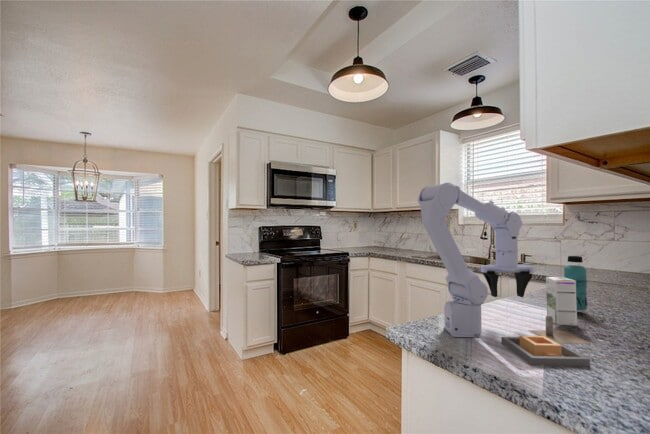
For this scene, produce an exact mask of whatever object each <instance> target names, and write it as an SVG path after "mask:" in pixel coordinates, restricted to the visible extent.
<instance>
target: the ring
mask: <svg viewBox="0 0 650 434" xmlns="http://www.w3.org/2000/svg"><path fill="white" fill-rule="evenodd" d="M519 337H520V345H519V346H520V347H521V348H523V349H524V350H526V351H527V352H528V353H530V354H531V355H533V356H558V357H563V356H562V355H563V353H562V346H561V345H560V344H558V343H556V342H554V341H552V340H550V339H549V338H547V337H545V336H537V335H519Z"/></svg>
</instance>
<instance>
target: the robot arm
mask: <svg viewBox="0 0 650 434" xmlns="http://www.w3.org/2000/svg"><path fill="white" fill-rule="evenodd" d="M417 202H418V204H419V206H420V214H421V223H422V226H423V227H424V229H425V231H426V233H427V234H428V237H429V239H430V240H431V243H432V244H433V246H434V248H435V250H436V252H437V254H438V256H439V258H440V260H441V262H442V264H443V265H444V269H445V270H446V272H447V275H446V277H445V280H446V283H447V290H448V292H449V294H450V295H451V301H445V302H444V308H443V312H444V313H443V314H444V316H443V319H444V320H443V321H444V325H443V328H444V329H445V330H446V331H447V332H448V334H450V335H451V336H452V337H453V338H454V337H455V338H479V336H478V335H479V334H482V330H483V329H482V305H484V303H485V301H486V300H487V298H488V293H489V291H490V295H491V297H494V298H497V297H498V282H499V278H500V276H499V274H497V273H514V276H515V277H514V278H515V283H516V296H517V297H519V298H524V296H525V292H526V289H527V287H528V284H529V283H530V281H531V280H532V279H533V273H535V272H534V270H535V269H534V266H533V265H524V264H523V265H521V264H519V258H518V257H519V256H518V255H519V254H518V252H519V251H518V250H519V249H518V237H519V235H520V230H521V228H522V226H523V220H522V218H521V215H519V214H518V213H517V212H515V211H508V210H506V208H505V207H500V206H498V205H496V204H495V202H494V201H493V200H485V201H480V200H478V198H477V199H476V198H475V197H473V196H472V195H470V194H468V193H466V192H465V191H463V190H462V189H461V188H460V186H458V185H456V184H453V183H452V182H444V183H441V184H436V185H429V186H425V187H423V188H422V189H421V191H420V192H419V195H418V197H417ZM455 205H456V206H459V207H461V208H463V209H466V210H468V211H471V212H473V213H474V216H475V217H476V218H477V219H479V220H480V221H482V222H485V223H487V224H489V225H490V227H491V228H492V230H494V231H495V232H494V233H495V235H494V236H495V242H494V243H495V264H486V265H485V264H483V265H480V272H481V273H482V275H483V277H484V278H485V280H486V282H487V283H485V282H483V281H482V280H481V279H480V277H479V275H477V274H476V273H475V272H474V271H472V270H471V269H470V268H469V267H468V264H467V262H466V261H465V259H464V256H463V255H462V253H461V251H460V249H459V247H458V245H457V244H456V243H457V242H456V241H455V240H454V239H455V238H454V237H453V236H452V233H451V231H450V230H449V227H448V225H447V224H446V222H445V219H446V217H447V216H448V215H449V213H450V211H451V210H452V209H453V207H454V206H455ZM487 285H488V286H487ZM488 289H489V290H488Z"/></svg>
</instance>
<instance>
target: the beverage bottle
mask: <svg viewBox="0 0 650 434" xmlns="http://www.w3.org/2000/svg"><path fill="white" fill-rule="evenodd" d="M567 262H568V263H569V262H570V263H579V264H580V263H583V257H582V256H580V255H568V256H567ZM587 271H588V270H587V268H586V267H584V266H583V265H577V264H567V265H565V266H564V267H563V274H564V275H563V277H564V278H568V279H571V280H575V281H576V304H577V311H587V309H588V293H587V292H588V291H587V287H588V285H587V282H588V281H587V280H588V279H587Z"/></svg>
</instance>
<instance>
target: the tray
mask: <svg viewBox="0 0 650 434" xmlns="http://www.w3.org/2000/svg"><path fill="white" fill-rule="evenodd" d="M549 339H550V340H552V341H554V342H556V343H558V344H560V345H561V346H562V355H565V356H562V357H558V356H533V355H531V354H530V353H528V352H527V351H526V350H524V349H523V348H521V347H520V336H501V344H502V345H504V346H505V347H506V348H508V349H509V350H511V351H512V352H513V353H515V355H518V357H520V358H522V359H523V360H524V361H526V362H527V363H528V364H530V365H531V366H549V367H550V366H552V367H553V366H554V367H557V366H559V367H591V359H590V358H589V357H586V355H583V354H581V353H579V352H578V351H576V350H574V349H572V348H570V347H568V346H567V345H565V344H564V343H559V342H557V341H555V340H553V339H551V338H549ZM567 371H569V370H567Z"/></svg>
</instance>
